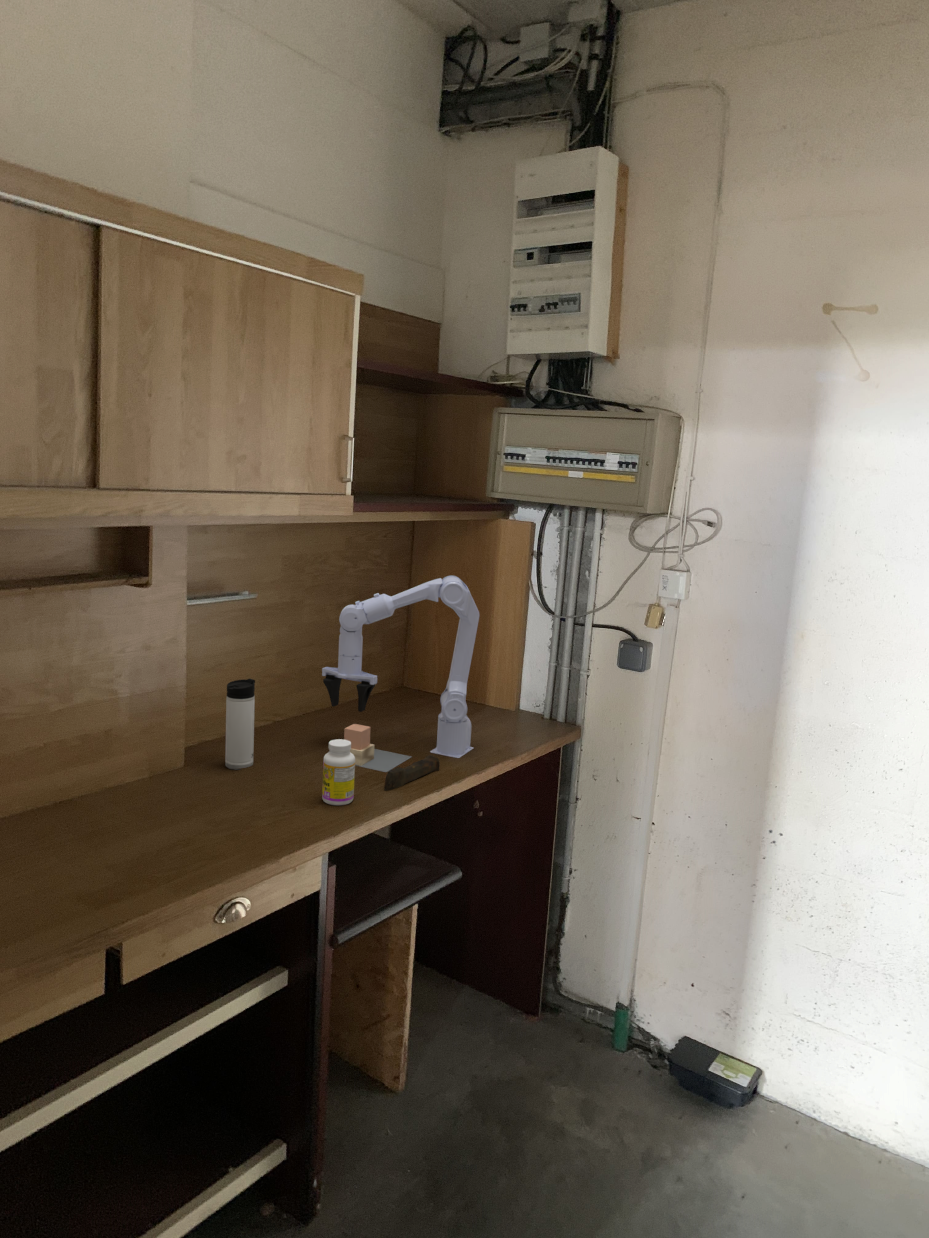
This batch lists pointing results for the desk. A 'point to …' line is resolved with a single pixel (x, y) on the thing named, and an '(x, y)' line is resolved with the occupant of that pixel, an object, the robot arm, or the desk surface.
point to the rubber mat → (385, 760)
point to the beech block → (363, 755)
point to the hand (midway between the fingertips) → (348, 708)
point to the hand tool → (410, 772)
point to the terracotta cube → (357, 736)
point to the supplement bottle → (338, 773)
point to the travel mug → (240, 724)
